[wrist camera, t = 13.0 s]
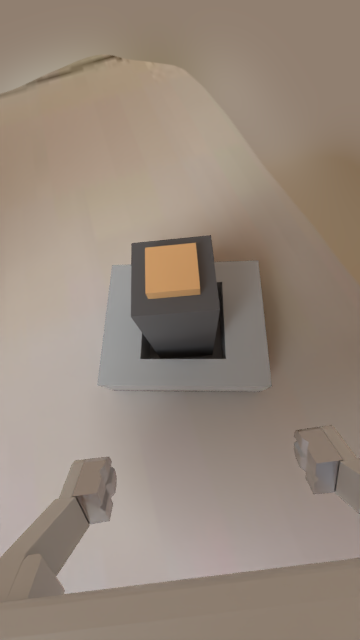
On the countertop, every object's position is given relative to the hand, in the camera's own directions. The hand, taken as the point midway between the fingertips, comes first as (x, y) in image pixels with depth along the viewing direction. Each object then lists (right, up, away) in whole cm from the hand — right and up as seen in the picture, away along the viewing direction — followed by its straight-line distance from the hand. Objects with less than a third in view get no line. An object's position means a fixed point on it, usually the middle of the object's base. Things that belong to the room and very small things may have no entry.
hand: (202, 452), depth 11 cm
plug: (-1, +5, +9) cm, 11 cm away
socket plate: (0, +5, +10) cm, 11 cm away
